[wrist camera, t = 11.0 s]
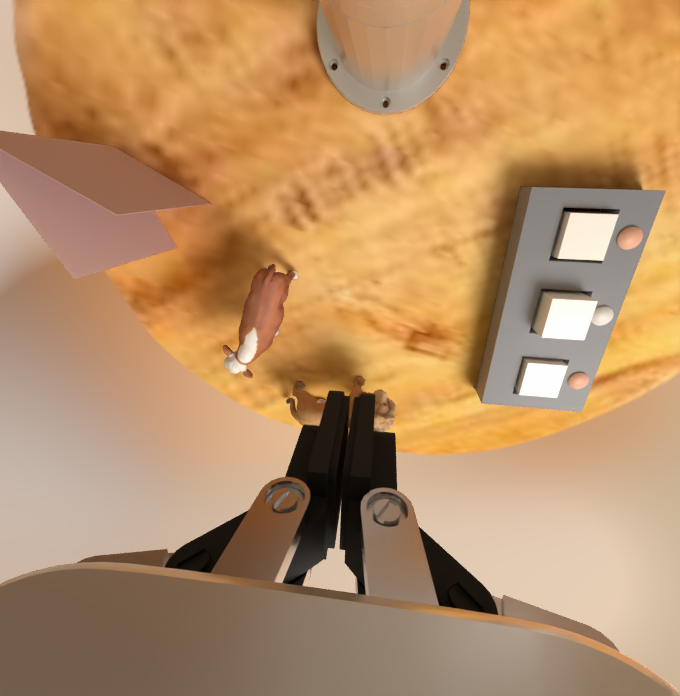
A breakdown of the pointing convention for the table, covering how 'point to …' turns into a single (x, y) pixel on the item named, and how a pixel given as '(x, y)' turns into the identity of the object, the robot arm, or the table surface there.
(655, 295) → the table surface
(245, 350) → the bull figurine
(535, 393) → the outer button
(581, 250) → the inner button
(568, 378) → the button board
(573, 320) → the middle button
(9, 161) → the greeting card
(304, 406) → the lion figurine
